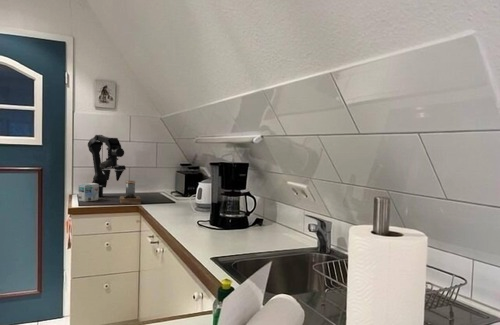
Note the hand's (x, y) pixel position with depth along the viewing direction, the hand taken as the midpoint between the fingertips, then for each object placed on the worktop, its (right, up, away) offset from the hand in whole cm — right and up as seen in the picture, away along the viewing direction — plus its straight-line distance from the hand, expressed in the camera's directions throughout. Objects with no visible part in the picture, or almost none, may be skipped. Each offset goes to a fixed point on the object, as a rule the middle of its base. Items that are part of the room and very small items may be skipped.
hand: (112, 180), depth 251 cm
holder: (+13, -14, -4) cm, 20 cm away
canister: (+13, -13, -4) cm, 19 cm away
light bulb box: (-15, -13, -2) cm, 20 cm away
